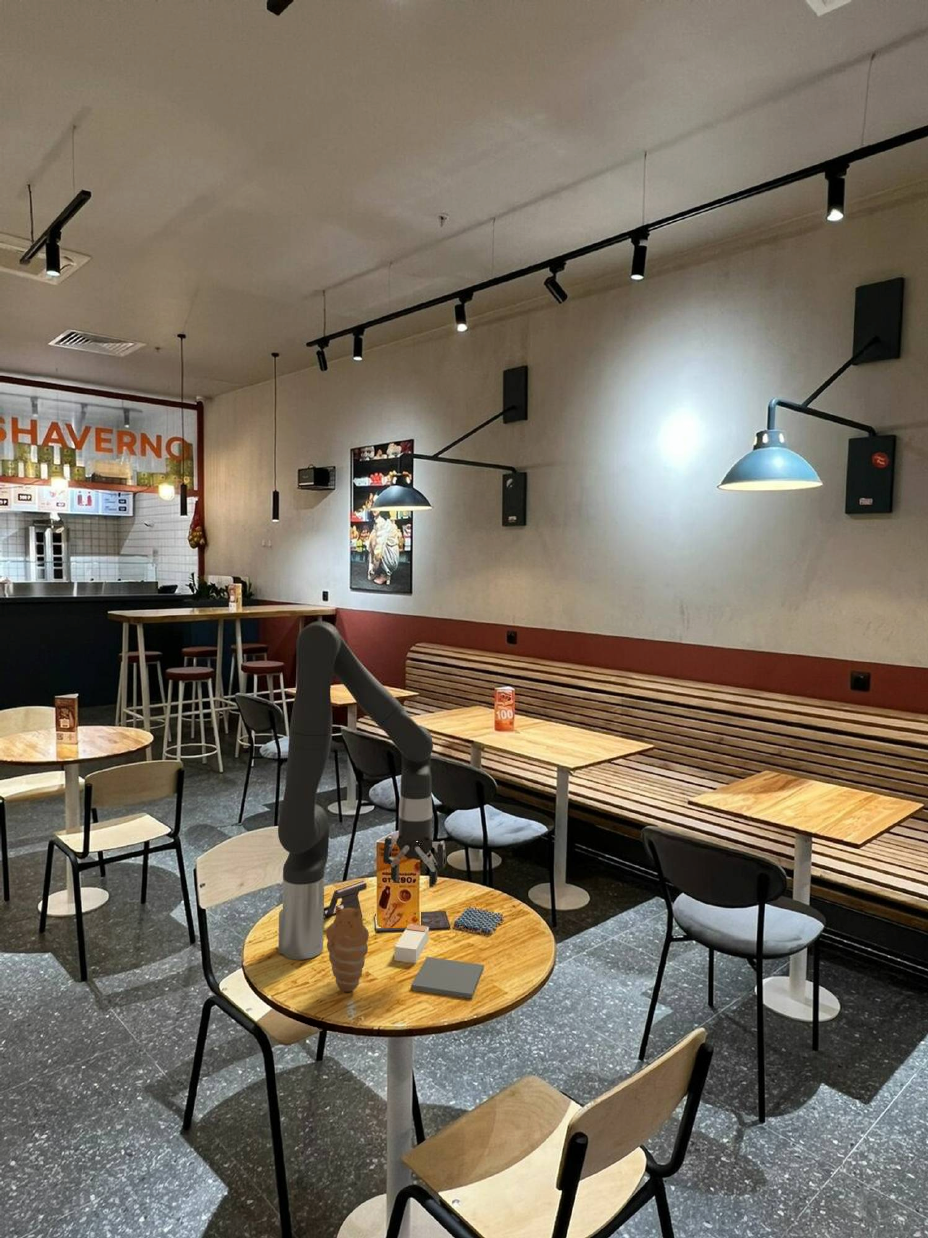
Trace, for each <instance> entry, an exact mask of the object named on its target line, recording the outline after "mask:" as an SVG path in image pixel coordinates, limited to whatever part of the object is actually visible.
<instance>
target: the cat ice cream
mask: <svg viewBox="0 0 928 1238" xmlns="http://www.w3.org/2000/svg"><path fill="white" fill-rule="evenodd" d="M360 908H361V907H360ZM360 908H358V909H354V908H345V909H341V908H340V907H338V906H337V905H336V909H335V910H336V914H335V915H336V916H335V918H334V921H333V922H332V923H331V924H330V925H329V926H328V927H327V929H326V931H325V936H326V939H327V942H326V948H327V952H328V953H329V955H328V959H329V961H330V964H331V972H332V974H333V977H335V983H336V985H337V988H338V989H339V990H341V991H342V992H347V993H349V992H352V991H354V990H355V989H357V987H358V986H359V984H360V979H361V977H362V975H363V968H364V967H365V961H366V960H365V956H366V955H367V954H368V952H369V951H368V950H369V947H368V944H367V943H368V941H369V937H370V935H369V934H370V933H369V930H368V928H367V927H365V924H364V921H363V917H361V914H360V912H362V909H360Z"/></svg>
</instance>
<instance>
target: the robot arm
mask: <svg viewBox="0 0 928 1238" xmlns="http://www.w3.org/2000/svg"><path fill="white" fill-rule="evenodd" d="M333 675H334V676H335V677H336V678H337V679H338V680H339V681H340V682H341V683H342V685H343V686H344V687H345V688H346V689H347V691H348V692H349V694H350V695H351V696H352V698H353V699H354V701H355V702H356V703H357V705H358V706H359V707H360V708H361V710H362V711H364V712H363V713H365V714H366V715H367V716H368V717H369V718H370V719H371V720H372V721H373V722H374V724H376V725H377V726H378V727H379V729H381V730H382V731H383V732H384V733H385V734H386V736H388V738H389V739H390V740H391V742H392V743H393V744H394V745H395V747H396V748H397V749H398V750H399V751H400V752H401V775H400V776H401V777H400V797H399V802H398V803H399V804H398V835H397V836H398V837H394V836H393V835H392V834H388V836H387V837H386V838H385V839H384V842H383V843H384V844H383V856H382V861H383V864H387V865H389V866H390V879H391V881H392V882H393V883H394V884H395V883H396V884H397V883H398V882H399V879H400V861H401V860H402V859H403V858H404V857H405V858H406V859H407V860H412V859H414V860H416V861H421V860H422V861H423V863H424V864H425V865H426V866H427V867H428V869H429V870H430V871H429V874H428V886H429V888H434V886H435V885H436V884H437V882H438V871H442V870H443V869H444V868H445V867H446V865H447V860H446V859H447V856H446V855H447V853H446V841H445V840H441V841H434V840H433V837H432V832H433V830H432V829H433V827H432V826H433V801H432V773H431V759H432V757H431V755H432V753H433V750H434V742H433V737H432V734H431V732H430V731H429V730H428V729H427V727H425V726H423V725H419V724H418V723H417V722H416V721H415V720H414V719H413V718H412V717H411V716H410V715H409V713H408V712H407V710H406V708H405V707H404V706H403V705H402V704H401V702H400V701H399V700H398V699H397V698H396V697H395V696H394V695H393V694H392V693H391V692H390V691H389V690H388V689H387V688H386V687H385V686H384V685H383V684H382V683H381V682H380V681H379V680H378V679H377V678H376V677H375V676H374V675H373V674H372V673H371V672H370V671H369V670H368V669H367V668H366V667H365V666H364V664H362V662H361V661H360V660H359V659H358V658H357V657H356V655H355V654H354V652H353V651H352V650H351V649H350V647H349V646H348V644H347V643H346V641H345V640H344V639H343V637H342V636H341V633H340V632H339V631H338V629H337V628H336V626H334V624H331V623H330V622H327V621H321V620H320V621H314V622H310V623H309V624H307V626H305V627H303V629H302V630H301V631H300V632H299V634H298V635H297V639H296V689H295V694H294V701H293V704H292V712H291V718H290V726H289V733H288V734H289V735H288V748H287V749H288V750H287V751H288V752H287V761H286V763H287V764H286V774H285V787H284V795H283V800H282V805H281V810H280V814H279V819H278V826H277V836H278V840H279V843H280V844H281V846H282V849H284V850H285V851H286V852H288V856H287V858H286V860H285V862H284V864H283V867H282V909H281V910H279V912H278V946H277V947H278V951H277V952H278V954H281V955H283V956H285V957H286V958H288V959H291V960H299V961H300V960H301V961H302V960H308V959H312V958H315V957H317V956H319V955H320V954H321V953H322V952H323V951H324V928H325V927H324V926H325V925H324V923H325V921H324V920H325V919H324V918H325V917H324V907H325V869H326V866H327V863H328V858H329V844H330V842H329V841H330V822H329V818H328V817H329V816H328V815H327V813H326V811H325V809H323V808H322V806H320V805H318V804H316V800H317V799H316V798H317V792H318V789H319V785H320V783H321V780H322V777H323V775H324V772H325V769H326V766H327V763H328V760H329V758H330V757H329V756H330V752H331V748H332V747H331V746H332V745H331V744H332V737H333V736H332V735H333V709H332V708H333V707H332V699H331V697H332V696H331V690H332V689H331V688H332V679H333ZM389 836H391V837H389ZM416 841H418V842H416ZM395 844H396V845H397V846H398V849H399V850H400V851H399V852H398V854H397V855H396V856H395V857H393V854H392V853H393V847H394V846H395ZM419 844H420V845H419ZM433 848H434V851H435V852H436V853H437V860H436V858H434V857H435V856H434V855H433V853H432V852H431V849H433Z"/></svg>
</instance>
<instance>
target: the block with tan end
mask: <svg viewBox="0 0 928 1238" xmlns="http://www.w3.org/2000/svg"><path fill="white" fill-rule="evenodd" d="M429 933H430V930H429V927H428V926H421V925H413V924H409V925H408V926H407V928H406V929H405V931H404V932H403V933H402V935H401V936H400V937H399V939H398V940H397V942H396V944H395V945H394V961H397V962H404V963H410V964H411V963H412V964H417V962H418V961H419V959H420V957H421V955H422V953H423V951H424V949H425V948H426V946H427V944H428V942H429V940H430V939H429V937H430V934H429Z"/></svg>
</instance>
